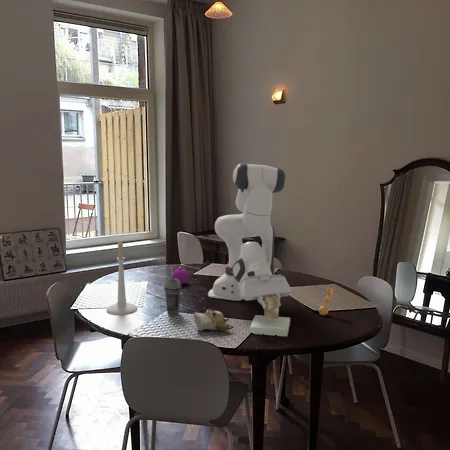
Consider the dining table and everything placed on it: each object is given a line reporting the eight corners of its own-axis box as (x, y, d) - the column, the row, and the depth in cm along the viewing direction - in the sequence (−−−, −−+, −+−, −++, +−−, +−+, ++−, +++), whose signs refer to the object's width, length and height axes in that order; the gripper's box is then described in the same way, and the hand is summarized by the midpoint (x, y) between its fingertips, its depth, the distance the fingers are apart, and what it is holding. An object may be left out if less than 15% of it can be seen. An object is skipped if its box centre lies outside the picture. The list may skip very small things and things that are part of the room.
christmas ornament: (183, 286, 245) (183, 267, 244) (169, 285, 248) (169, 266, 247) (190, 282, 253) (190, 264, 252) (176, 281, 256) (176, 262, 254)
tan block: (269, 319, 184) (269, 299, 183) (264, 316, 188) (264, 296, 187) (278, 318, 186) (279, 298, 185) (273, 315, 189) (273, 295, 188)
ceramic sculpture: (192, 303, 189) (229, 304, 192) (191, 325, 190) (228, 325, 193) (195, 313, 179) (235, 313, 182) (194, 335, 180) (233, 335, 183)
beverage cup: (168, 317, 199) (167, 270, 196) (161, 312, 205) (161, 266, 202) (184, 315, 202) (184, 268, 199) (177, 310, 209) (177, 264, 206)
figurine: (316, 311, 208) (317, 284, 206) (330, 311, 208) (331, 284, 206) (320, 318, 200) (321, 290, 198) (335, 318, 200) (336, 290, 198)
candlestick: (118, 317, 200) (116, 245, 195) (100, 310, 208) (98, 241, 204) (143, 309, 209) (141, 241, 205) (125, 303, 217) (123, 237, 213)
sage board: (249, 333, 182) (249, 326, 182) (255, 321, 196) (255, 314, 196) (287, 336, 180) (287, 329, 179) (289, 323, 193) (290, 317, 193)
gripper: (280, 278, 200) (292, 308, 192) (235, 282, 191) (246, 313, 184) (286, 270, 195) (298, 300, 187) (240, 274, 187) (251, 305, 179)
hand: (272, 307), depth 185 cm, fingers closed on tan block, 4 cm apart
